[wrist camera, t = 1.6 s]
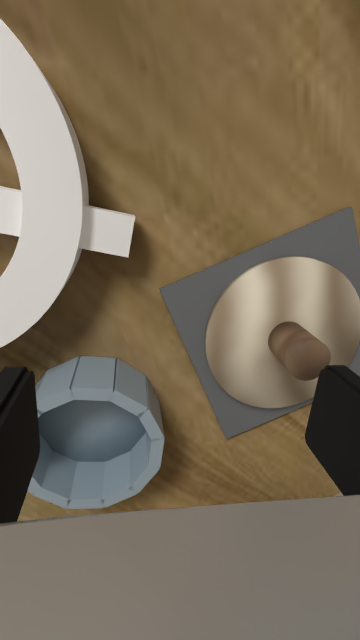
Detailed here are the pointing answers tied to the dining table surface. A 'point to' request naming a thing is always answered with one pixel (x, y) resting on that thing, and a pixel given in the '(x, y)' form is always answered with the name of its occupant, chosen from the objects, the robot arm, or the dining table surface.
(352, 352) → the lid
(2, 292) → the ring with crossbar
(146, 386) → the bowl
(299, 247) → the mat
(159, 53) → the dining table surface
